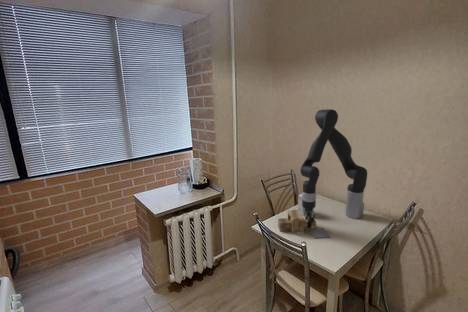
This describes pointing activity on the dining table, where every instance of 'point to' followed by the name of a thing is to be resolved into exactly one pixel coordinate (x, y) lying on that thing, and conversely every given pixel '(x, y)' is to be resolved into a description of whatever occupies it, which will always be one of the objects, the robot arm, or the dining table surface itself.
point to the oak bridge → (296, 219)
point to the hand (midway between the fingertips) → (308, 225)
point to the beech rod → (298, 224)
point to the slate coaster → (319, 233)
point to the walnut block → (283, 224)
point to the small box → (301, 204)
